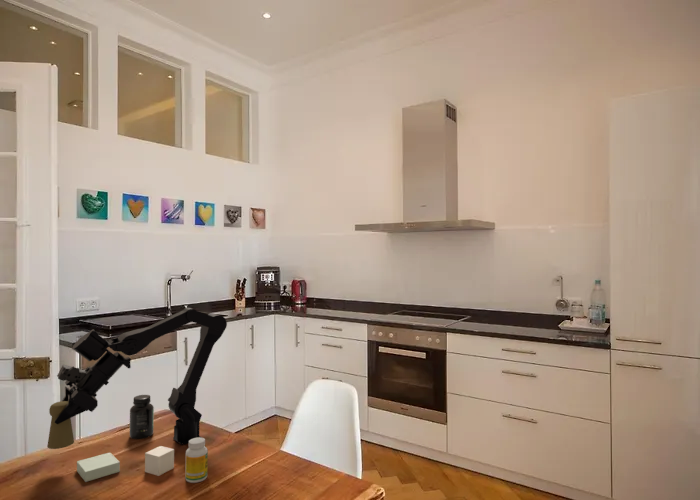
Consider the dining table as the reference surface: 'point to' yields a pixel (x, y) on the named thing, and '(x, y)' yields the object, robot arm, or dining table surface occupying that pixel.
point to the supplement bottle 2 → (196, 461)
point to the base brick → (98, 466)
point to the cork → (59, 428)
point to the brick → (159, 460)
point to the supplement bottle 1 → (141, 417)
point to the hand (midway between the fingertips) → (54, 420)
